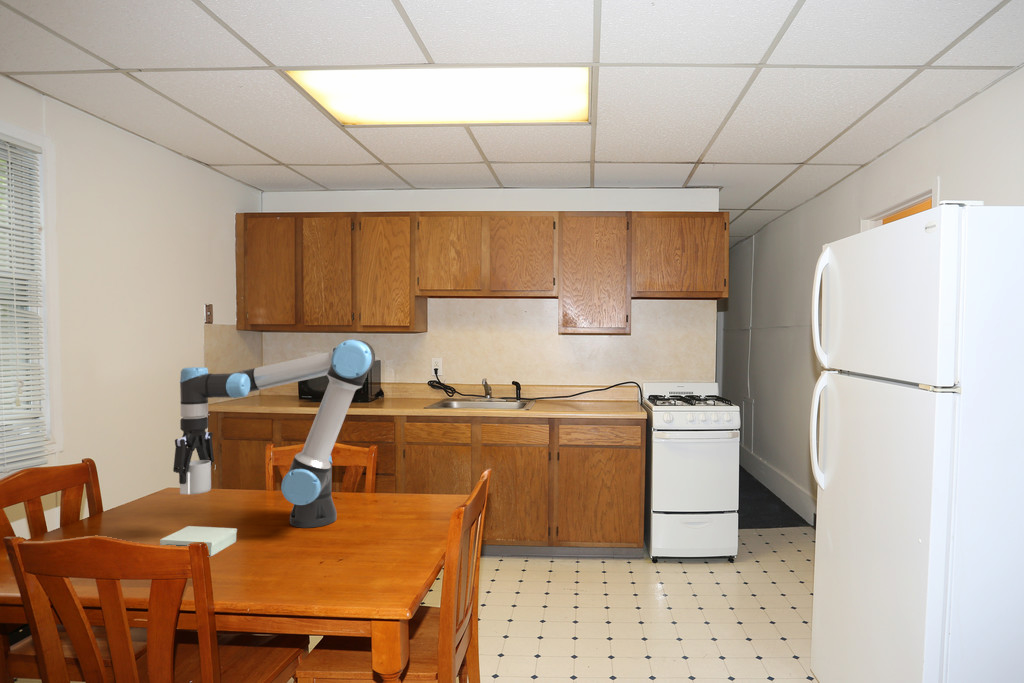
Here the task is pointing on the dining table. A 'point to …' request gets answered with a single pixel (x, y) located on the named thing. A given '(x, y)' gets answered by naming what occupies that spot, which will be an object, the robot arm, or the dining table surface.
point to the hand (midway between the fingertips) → (194, 490)
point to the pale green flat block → (203, 537)
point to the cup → (200, 476)
